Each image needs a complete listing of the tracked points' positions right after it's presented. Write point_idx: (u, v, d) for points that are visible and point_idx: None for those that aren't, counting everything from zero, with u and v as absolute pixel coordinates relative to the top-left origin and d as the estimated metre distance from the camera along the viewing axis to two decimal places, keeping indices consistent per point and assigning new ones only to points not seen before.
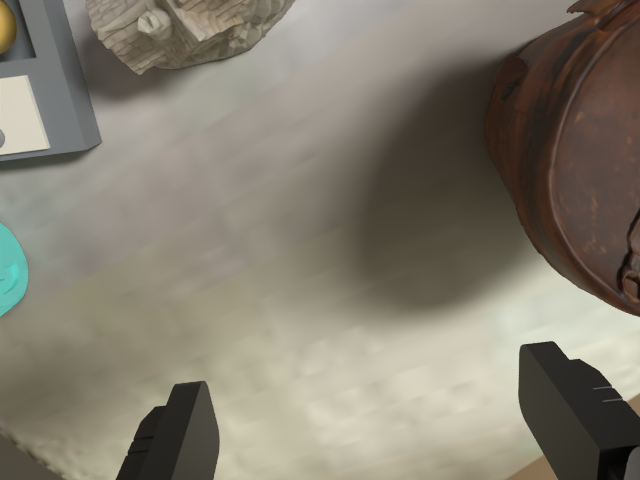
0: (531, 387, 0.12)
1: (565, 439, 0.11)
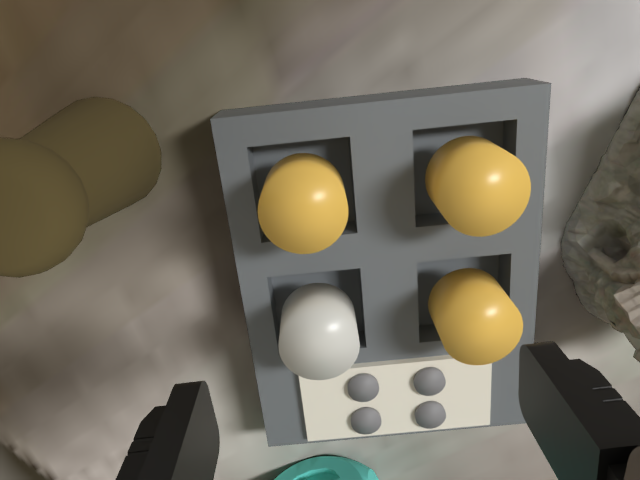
0: (531, 387, 0.12)
1: (565, 439, 0.11)
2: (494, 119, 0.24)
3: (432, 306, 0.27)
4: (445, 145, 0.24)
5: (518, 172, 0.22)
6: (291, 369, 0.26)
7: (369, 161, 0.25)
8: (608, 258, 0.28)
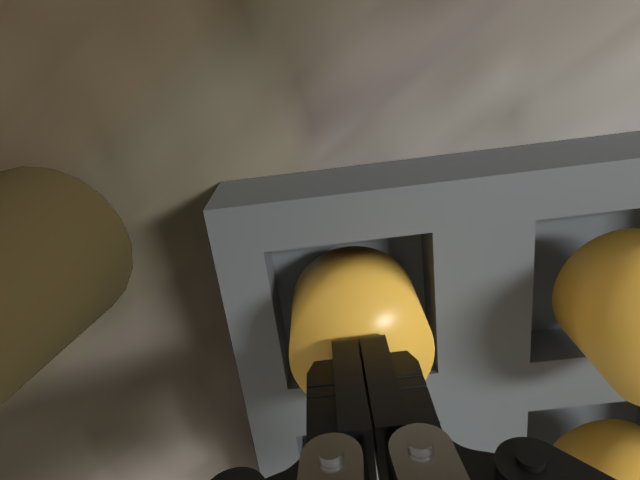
0: (364, 376, 0.13)
1: (371, 421, 0.12)
2: None
3: None
4: (592, 245, 0.15)
5: None
6: None
7: (462, 269, 0.15)
8: None
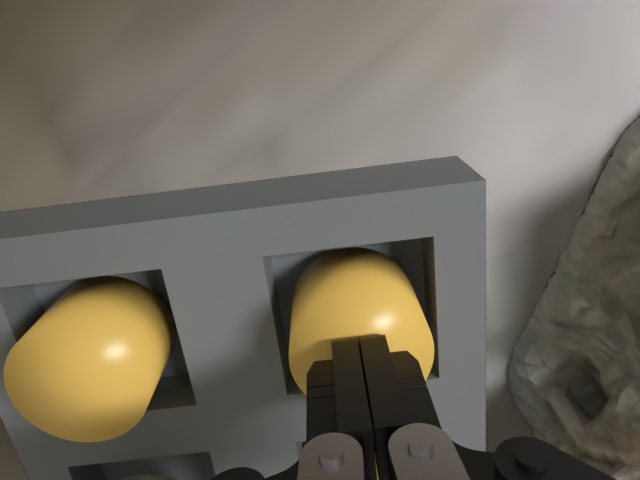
0: (364, 376, 0.13)
1: (371, 421, 0.12)
2: (395, 237, 0.15)
3: None
4: (315, 263, 0.16)
5: (412, 324, 0.14)
6: None
7: (198, 304, 0.15)
8: (574, 413, 0.18)
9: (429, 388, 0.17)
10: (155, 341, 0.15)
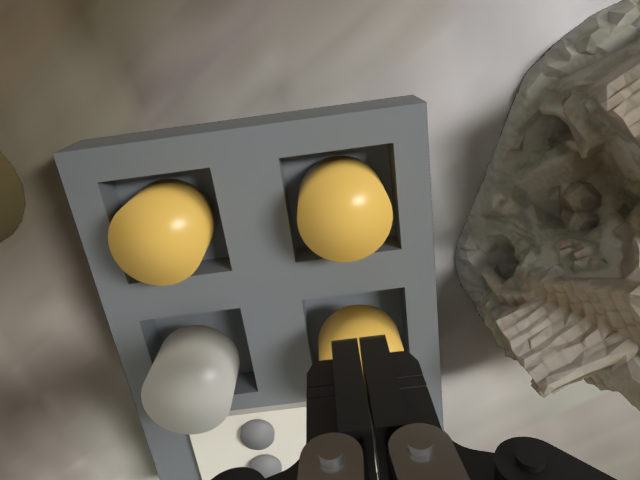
0: (364, 376, 0.13)
1: (371, 421, 0.12)
2: (367, 143, 0.22)
3: None
4: (314, 166, 0.23)
5: (377, 195, 0.21)
6: (159, 424, 0.23)
7: (234, 193, 0.23)
8: (497, 278, 0.25)
9: (395, 257, 0.24)
10: (205, 218, 0.23)
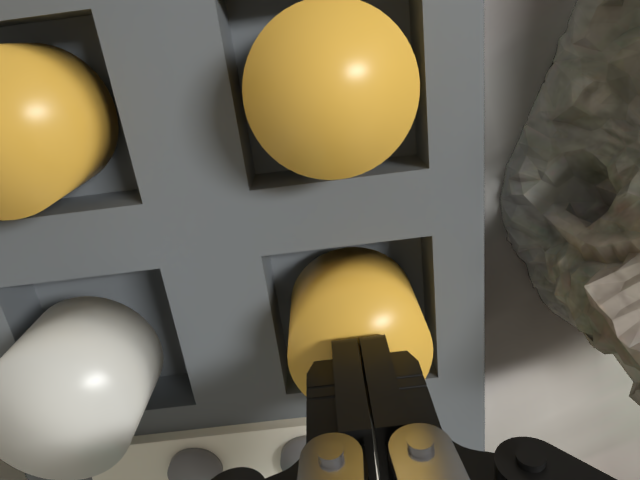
0: (364, 376, 0.13)
1: (371, 421, 0.12)
2: None
3: None
4: None
5: (391, 46, 0.11)
6: (10, 463, 0.14)
7: (138, 60, 0.13)
8: (577, 219, 0.15)
9: (417, 183, 0.14)
10: (86, 103, 0.13)
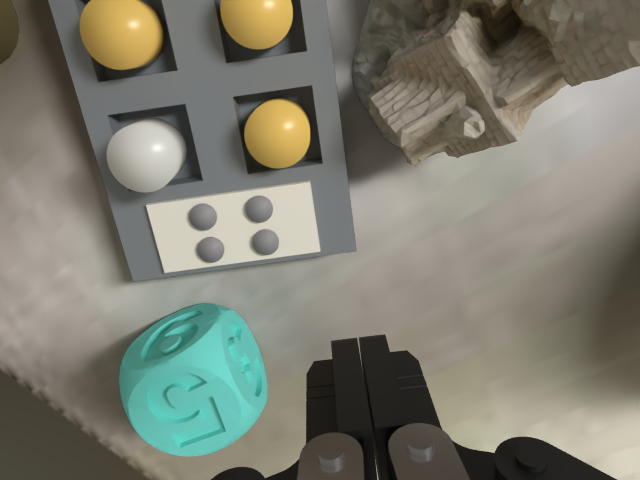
0: (364, 376, 0.13)
1: (371, 421, 0.12)
2: None
3: None
4: None
5: None
6: (121, 182, 0.30)
7: (176, 2, 0.30)
8: (378, 76, 0.32)
9: (302, 58, 0.31)
10: (154, 20, 0.30)
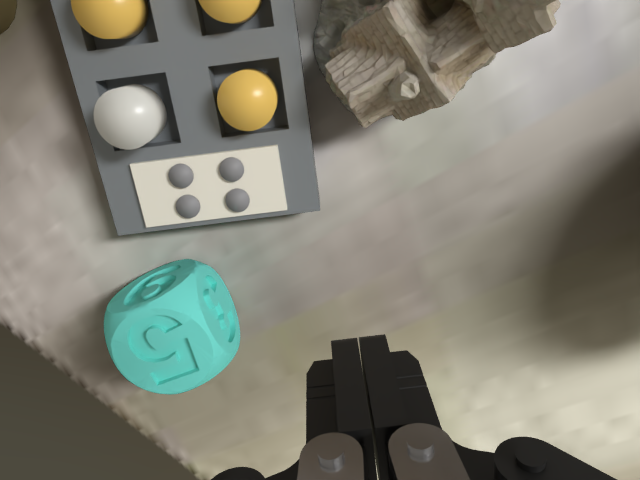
0: (364, 376, 0.13)
1: (371, 422, 0.12)
2: None
3: None
4: None
5: None
6: (106, 140, 0.34)
7: None
8: (334, 47, 0.36)
9: (270, 32, 0.35)
10: None
